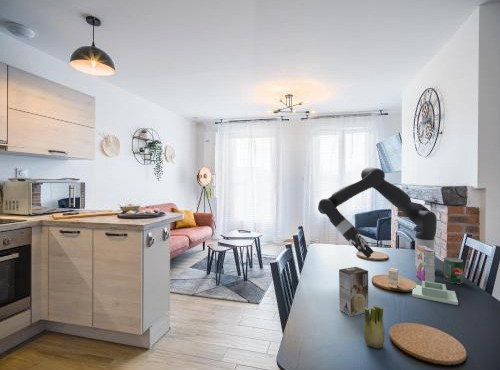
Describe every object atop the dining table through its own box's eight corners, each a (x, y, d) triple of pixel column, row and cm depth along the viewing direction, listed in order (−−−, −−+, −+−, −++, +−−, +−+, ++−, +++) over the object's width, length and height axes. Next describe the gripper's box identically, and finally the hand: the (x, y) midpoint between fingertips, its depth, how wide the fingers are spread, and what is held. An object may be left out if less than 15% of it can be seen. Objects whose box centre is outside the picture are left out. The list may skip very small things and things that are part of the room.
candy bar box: (415, 276, 145) (415, 245, 145) (425, 276, 144) (425, 245, 144) (424, 283, 134) (424, 250, 134) (435, 284, 133) (435, 251, 133)
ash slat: (389, 284, 134) (389, 268, 134) (397, 285, 132) (397, 269, 132) (388, 287, 130) (388, 270, 130) (397, 288, 128) (397, 271, 128)
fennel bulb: (364, 348, 83) (364, 308, 82) (363, 339, 87) (363, 301, 87) (385, 352, 81) (385, 311, 80) (383, 343, 85) (384, 304, 85)
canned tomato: (460, 285, 132) (461, 262, 132) (441, 280, 138) (441, 259, 138) (464, 281, 138) (464, 259, 137) (445, 277, 144) (446, 256, 143)
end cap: (412, 286, 130) (413, 277, 130) (454, 294, 122) (454, 284, 122) (412, 296, 119) (412, 286, 119) (458, 305, 111) (458, 294, 111)
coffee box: (356, 305, 111) (356, 266, 111) (368, 312, 105) (369, 270, 105) (338, 309, 107) (338, 269, 107) (350, 317, 101) (350, 274, 101)
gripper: (349, 227, 134) (374, 253, 129) (355, 223, 147) (378, 247, 141) (338, 236, 137) (362, 263, 131) (345, 232, 149) (367, 256, 143)
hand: (371, 254), depth 136 cm, fingers open, 8 cm apart
